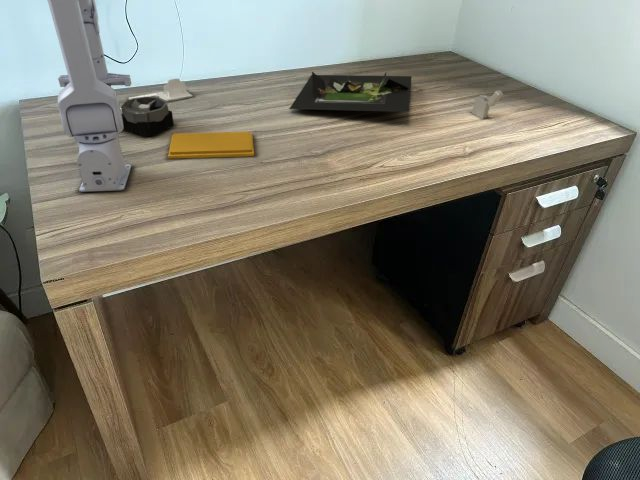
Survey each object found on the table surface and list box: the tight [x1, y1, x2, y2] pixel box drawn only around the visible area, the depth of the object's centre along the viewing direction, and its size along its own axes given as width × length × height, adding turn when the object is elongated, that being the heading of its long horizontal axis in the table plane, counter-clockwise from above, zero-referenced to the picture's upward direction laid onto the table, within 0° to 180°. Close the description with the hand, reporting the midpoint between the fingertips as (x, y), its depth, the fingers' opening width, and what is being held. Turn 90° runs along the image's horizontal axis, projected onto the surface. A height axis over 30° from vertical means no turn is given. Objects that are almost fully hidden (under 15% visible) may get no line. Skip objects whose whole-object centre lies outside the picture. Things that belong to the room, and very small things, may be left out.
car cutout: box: [127, 78, 194, 103], centre depth 129 cm, size 15×7×4 cm, turn 126°
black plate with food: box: [289, 71, 413, 113], centre depth 134 cm, size 30×8×30 cm
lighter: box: [471, 89, 504, 120], centre depth 127 cm, size 7×2×8 cm, turn 31°
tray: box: [167, 131, 255, 160], centre depth 108 cm, size 10×18×1 cm, turn 99°
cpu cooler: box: [120, 96, 175, 138], centre depth 114 cm, size 10×6×10 cm
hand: (103, 116), depth 112 cm, fingers closed
